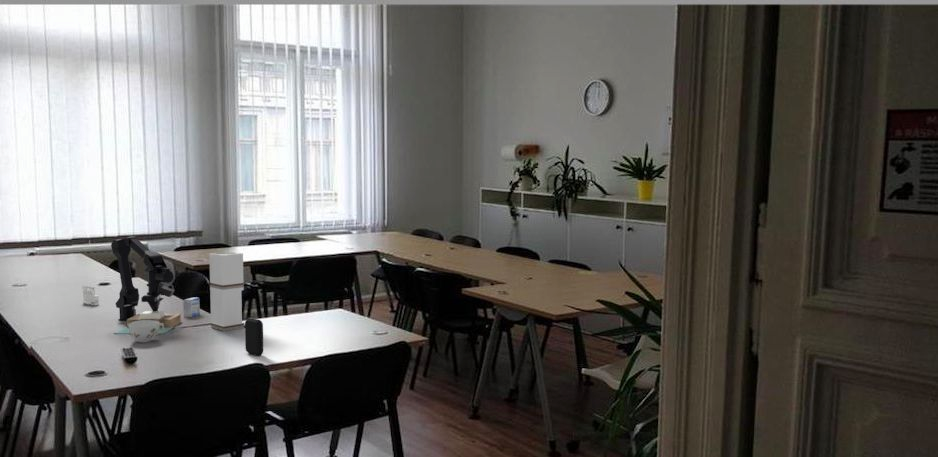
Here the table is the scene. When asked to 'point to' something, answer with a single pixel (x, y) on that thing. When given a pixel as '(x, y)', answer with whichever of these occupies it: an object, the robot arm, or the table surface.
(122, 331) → the mat
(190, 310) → the medicine box
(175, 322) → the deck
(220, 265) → the white square table lamp
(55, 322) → the table surface
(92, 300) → the ink cartridge box
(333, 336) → the table surface
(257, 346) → the carrying case or bag
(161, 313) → the white rectangular block
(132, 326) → the teacup
